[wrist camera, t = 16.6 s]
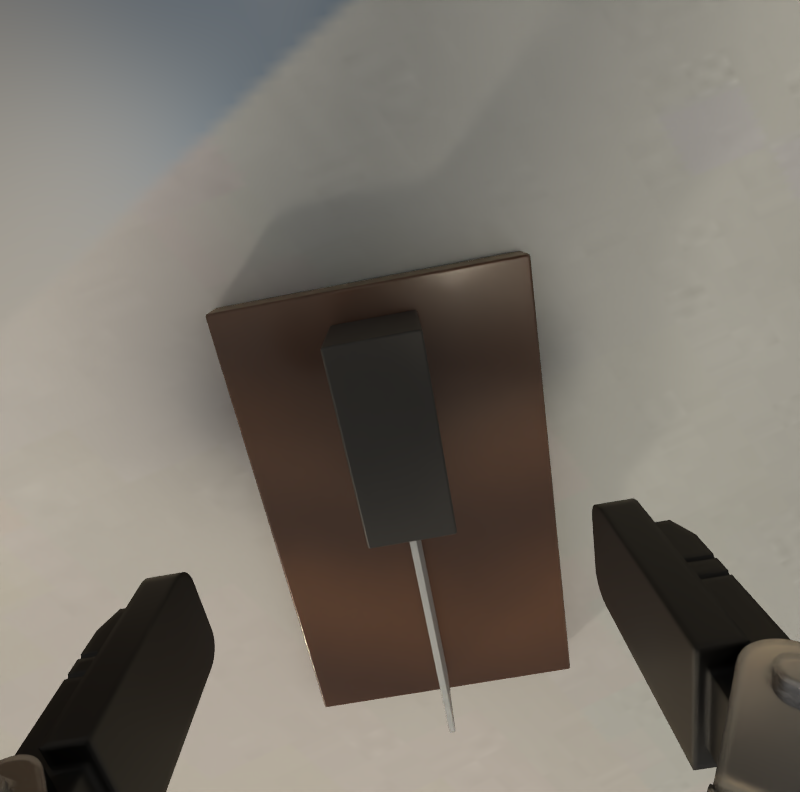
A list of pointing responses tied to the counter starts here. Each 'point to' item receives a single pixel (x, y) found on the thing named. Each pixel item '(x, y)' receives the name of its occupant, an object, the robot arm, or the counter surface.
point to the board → (466, 469)
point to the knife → (393, 444)
